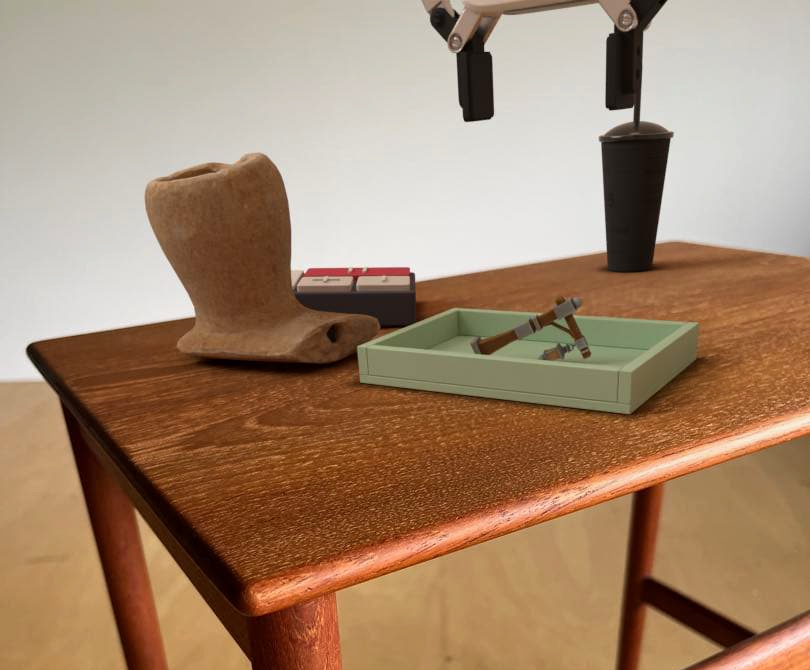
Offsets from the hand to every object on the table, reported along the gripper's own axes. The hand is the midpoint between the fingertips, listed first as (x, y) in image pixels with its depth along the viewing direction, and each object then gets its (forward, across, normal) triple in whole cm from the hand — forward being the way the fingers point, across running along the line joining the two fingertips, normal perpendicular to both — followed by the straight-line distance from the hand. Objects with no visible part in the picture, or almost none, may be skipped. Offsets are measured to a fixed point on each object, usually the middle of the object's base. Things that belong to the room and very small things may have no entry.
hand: (546, 115), depth 56 cm
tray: (+16, +1, +2) cm, 16 cm away
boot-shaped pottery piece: (+16, +22, +6) cm, 28 cm away
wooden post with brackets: (+16, +1, +2) cm, 16 cm away
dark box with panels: (+16, +26, -9) cm, 32 cm away
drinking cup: (+17, +9, -41) cm, 46 cm away
